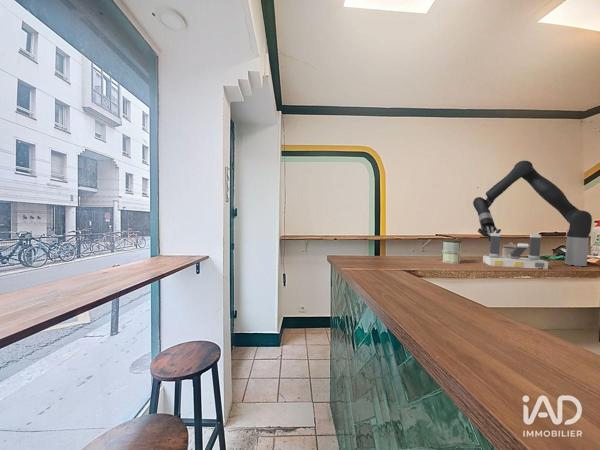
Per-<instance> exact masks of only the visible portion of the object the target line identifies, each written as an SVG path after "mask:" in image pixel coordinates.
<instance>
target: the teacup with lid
mask: <svg viewBox="0 0 600 450" xmlns="http://www.w3.org/2000/svg"><path fill="white" fill-rule="evenodd" d="M516 246H517V244H514V243H513V242H512V241H510V242H509V243H507V244H503V245H502V246H501V247H502V254H501V257H508V255H509V254H511V252H512V251H513V250H514V249H515V247H516Z"/></svg>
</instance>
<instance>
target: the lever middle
mask: <svg viewBox="0 0 600 450" xmlns="http://www.w3.org/2000/svg"><path fill="white" fill-rule="evenodd" d="M528 248H530V244H529V243H521V242H520V243H519V242H518V243H517V244H516V247H515V249H514V250H513V251H512V252H511V254H509V255H508V257H509V258H516V259H519V258H521V257H520V256H521V255H522V254H523V253H524V252H525V251H526V250H527V249H528Z"/></svg>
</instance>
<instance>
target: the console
mask: <svg viewBox="0 0 600 450" xmlns="http://www.w3.org/2000/svg"><path fill="white" fill-rule="evenodd" d="M482 262H483V263H484V264H486V265H488V266H492V267H504V268H505V267H507V268H508V267H509V268H523V269H525V268H526V269H538V268H543V269H542V270H548V269H549V261H547V260H543V259H540V260H535V259H528V257H520V258H519V259H516V258H509V257H502V256H500V257H499V258H497V257H489V255H483V256H482Z"/></svg>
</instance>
